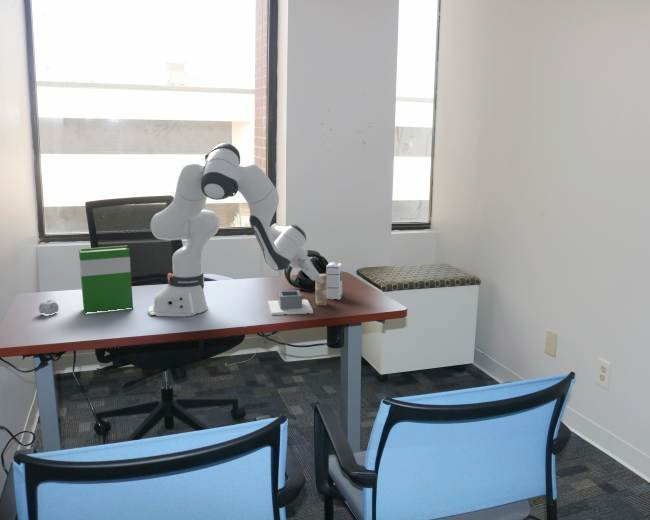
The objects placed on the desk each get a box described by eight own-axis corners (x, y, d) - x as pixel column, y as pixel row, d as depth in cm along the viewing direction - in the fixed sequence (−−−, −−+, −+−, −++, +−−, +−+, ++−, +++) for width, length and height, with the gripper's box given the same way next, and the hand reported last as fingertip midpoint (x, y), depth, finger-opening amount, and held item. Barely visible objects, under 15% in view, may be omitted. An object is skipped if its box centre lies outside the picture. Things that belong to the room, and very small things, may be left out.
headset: (326, 304, 281) (281, 284, 262) (314, 285, 291) (269, 264, 271) (352, 275, 277) (308, 253, 257) (338, 257, 286) (295, 234, 266)
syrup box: (340, 300, 257) (340, 265, 254) (325, 299, 258) (326, 265, 255) (342, 296, 263) (342, 262, 260) (328, 295, 264) (328, 262, 261)
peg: (316, 305, 250) (316, 276, 247) (315, 302, 253) (315, 274, 251) (326, 305, 250) (326, 276, 248) (324, 302, 254) (325, 273, 251)
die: (59, 313, 237) (58, 300, 236) (48, 317, 233) (47, 304, 232) (50, 311, 239) (48, 299, 238) (39, 315, 235) (37, 302, 234)
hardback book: (130, 304, 249) (126, 245, 244) (133, 309, 243) (129, 249, 238) (83, 309, 242) (78, 249, 237) (84, 314, 236) (79, 252, 230)
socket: (271, 315, 237) (271, 300, 235) (268, 303, 252) (267, 288, 251) (313, 313, 239) (313, 298, 238) (307, 301, 255) (307, 287, 253)
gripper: (306, 256, 236) (331, 281, 240) (299, 246, 255) (322, 268, 259) (294, 268, 236) (319, 292, 240) (288, 257, 256) (311, 279, 259)
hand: (321, 280), depth 250 cm, fingers open, 5 cm apart
